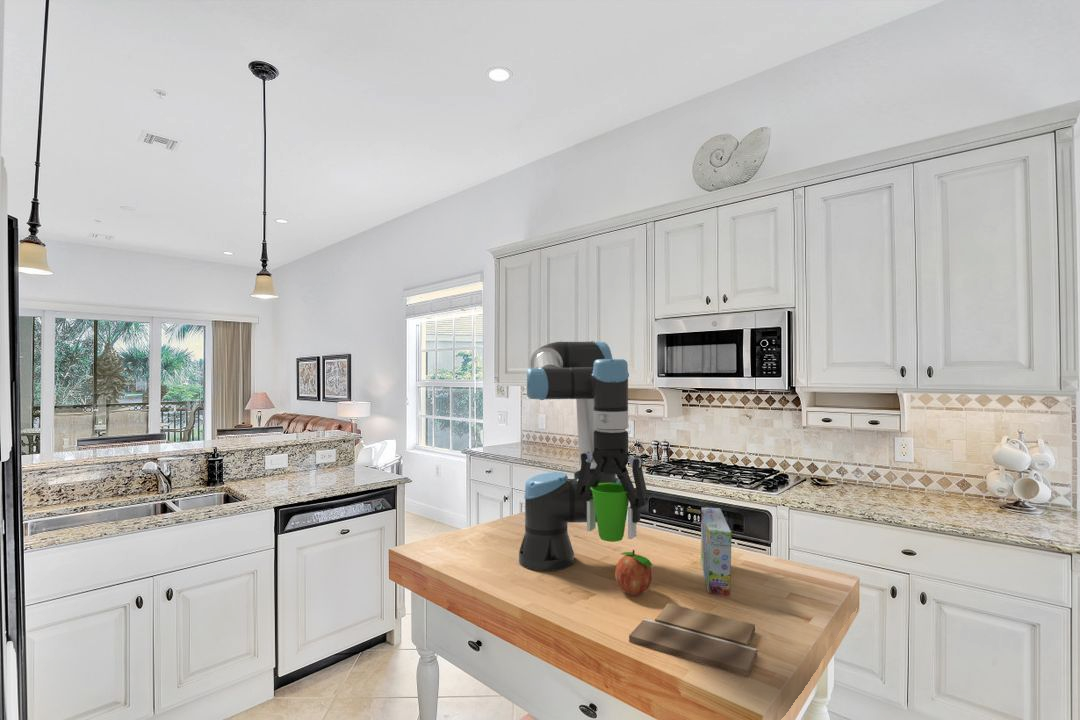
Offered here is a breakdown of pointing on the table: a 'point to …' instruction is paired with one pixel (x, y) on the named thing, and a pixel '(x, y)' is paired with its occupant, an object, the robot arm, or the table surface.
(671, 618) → the plank
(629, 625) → the table surface
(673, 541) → the table surface
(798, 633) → the table surface
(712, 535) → the snack box
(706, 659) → the floorboard
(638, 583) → the fruit
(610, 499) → the cup
